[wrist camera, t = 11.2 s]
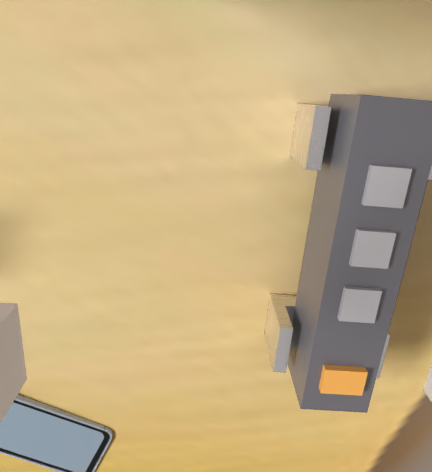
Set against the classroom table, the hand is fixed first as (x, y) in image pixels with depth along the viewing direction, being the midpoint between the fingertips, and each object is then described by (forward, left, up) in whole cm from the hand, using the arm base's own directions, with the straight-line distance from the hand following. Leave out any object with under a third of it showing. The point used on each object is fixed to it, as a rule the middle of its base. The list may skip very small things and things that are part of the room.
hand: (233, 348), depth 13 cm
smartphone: (+26, -16, -22) cm, 37 cm away
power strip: (+3, +10, -19) cm, 22 cm away
